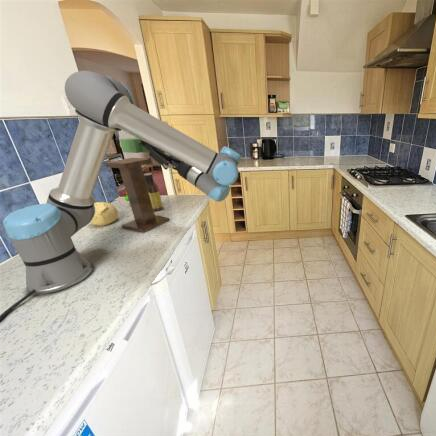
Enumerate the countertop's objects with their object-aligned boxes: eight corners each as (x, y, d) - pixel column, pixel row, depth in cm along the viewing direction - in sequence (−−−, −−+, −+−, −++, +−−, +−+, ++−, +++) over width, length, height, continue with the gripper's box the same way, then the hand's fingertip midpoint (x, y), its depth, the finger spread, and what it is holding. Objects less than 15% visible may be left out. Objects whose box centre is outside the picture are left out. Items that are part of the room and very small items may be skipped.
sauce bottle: (152, 208, 135) (142, 173, 127) (164, 206, 137) (155, 172, 129) (149, 212, 129) (139, 175, 122) (162, 210, 131) (153, 174, 123)
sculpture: (83, 227, 113) (75, 206, 109) (106, 217, 124) (98, 197, 120) (104, 228, 111) (96, 207, 107) (125, 218, 122) (118, 198, 118)
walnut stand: (144, 232, 107) (123, 164, 95) (122, 227, 112) (100, 162, 100) (169, 220, 119) (154, 158, 107) (149, 216, 124) (132, 157, 112)
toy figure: (157, 153, 91) (154, 139, 89) (116, 152, 99) (112, 139, 97) (172, 151, 97) (169, 138, 95) (132, 149, 105) (129, 137, 103)
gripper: (173, 186, 87) (125, 151, 90) (205, 175, 101) (163, 145, 104) (177, 169, 83) (127, 132, 86) (210, 160, 97) (166, 129, 100)
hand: (147, 140), depth 95 cm, fingers closed on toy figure, 4 cm apart
